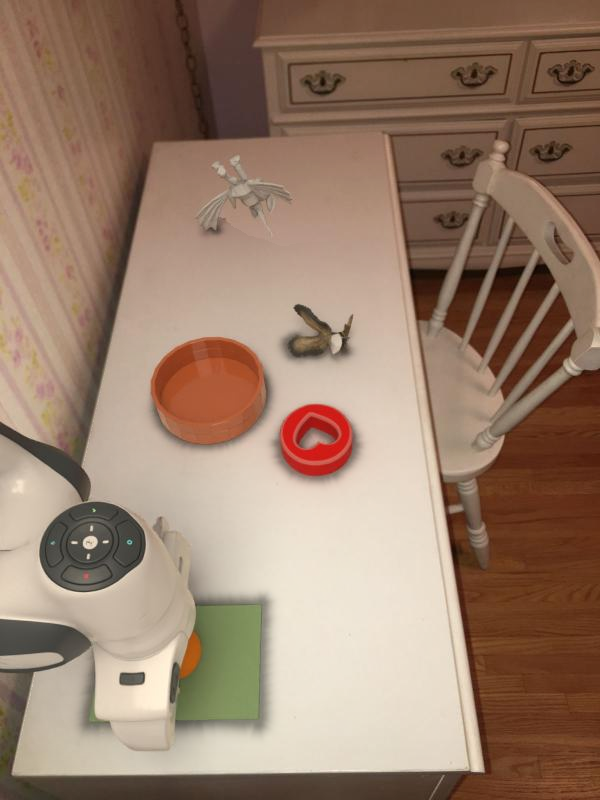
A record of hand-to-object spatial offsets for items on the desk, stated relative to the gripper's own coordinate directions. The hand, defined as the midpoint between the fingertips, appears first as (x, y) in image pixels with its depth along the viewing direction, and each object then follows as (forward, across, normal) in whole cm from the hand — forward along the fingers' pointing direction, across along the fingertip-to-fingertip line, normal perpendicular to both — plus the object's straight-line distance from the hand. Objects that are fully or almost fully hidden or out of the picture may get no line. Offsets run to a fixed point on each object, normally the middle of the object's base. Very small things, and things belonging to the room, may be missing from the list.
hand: (175, 653), depth 70 cm
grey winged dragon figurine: (+3, -75, +5) cm, 75 cm away
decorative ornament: (+3, -28, +16) cm, 32 cm away
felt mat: (+2, 0, 0) cm, 3 cm away
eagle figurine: (+3, -45, +17) cm, 48 cm away
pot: (+2, -36, +1) cm, 36 cm away
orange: (+2, 0, 0) cm, 2 cm away
